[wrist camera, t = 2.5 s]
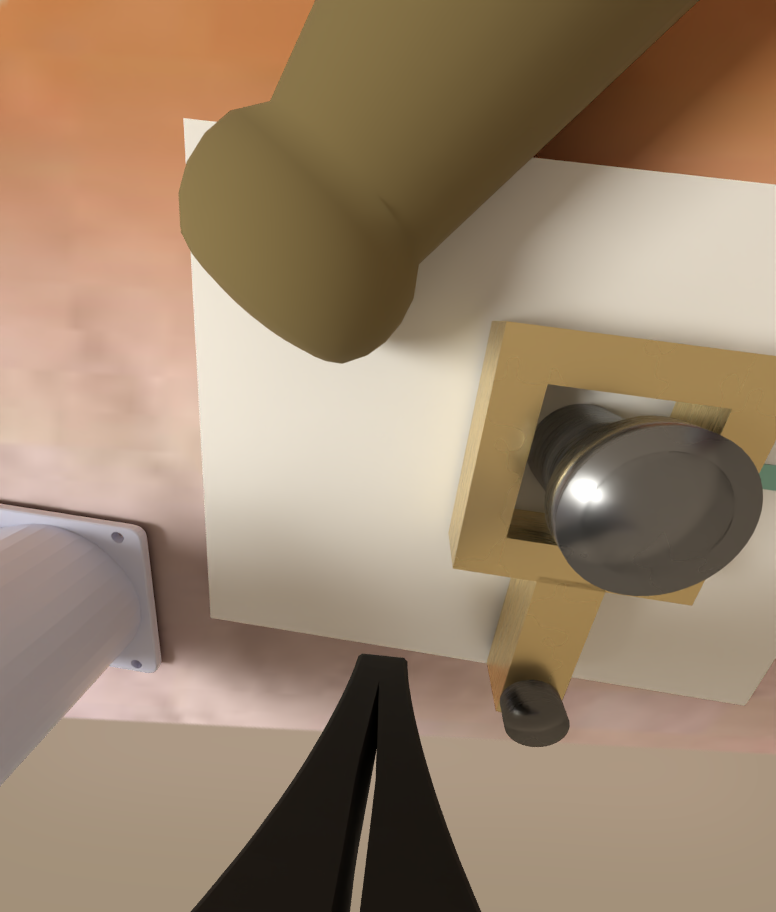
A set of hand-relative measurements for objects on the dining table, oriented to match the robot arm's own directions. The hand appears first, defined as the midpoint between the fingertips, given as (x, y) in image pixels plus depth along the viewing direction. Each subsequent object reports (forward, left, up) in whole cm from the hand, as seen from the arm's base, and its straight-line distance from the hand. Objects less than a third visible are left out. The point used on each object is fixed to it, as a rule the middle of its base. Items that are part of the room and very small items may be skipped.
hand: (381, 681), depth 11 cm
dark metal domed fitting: (+9, +3, -4) cm, 10 cm away
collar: (+5, +4, -4) cm, 7 cm away
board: (+4, +6, -5) cm, 8 cm away
